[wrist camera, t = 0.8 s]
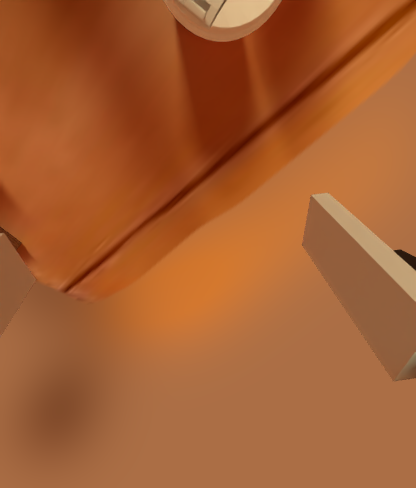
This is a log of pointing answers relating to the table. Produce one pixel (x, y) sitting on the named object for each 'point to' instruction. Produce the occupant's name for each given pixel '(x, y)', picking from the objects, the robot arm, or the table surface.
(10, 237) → the rail
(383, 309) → the robot arm
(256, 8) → the coffee cup
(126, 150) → the table surface
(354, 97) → the table surface
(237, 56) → the table surface
